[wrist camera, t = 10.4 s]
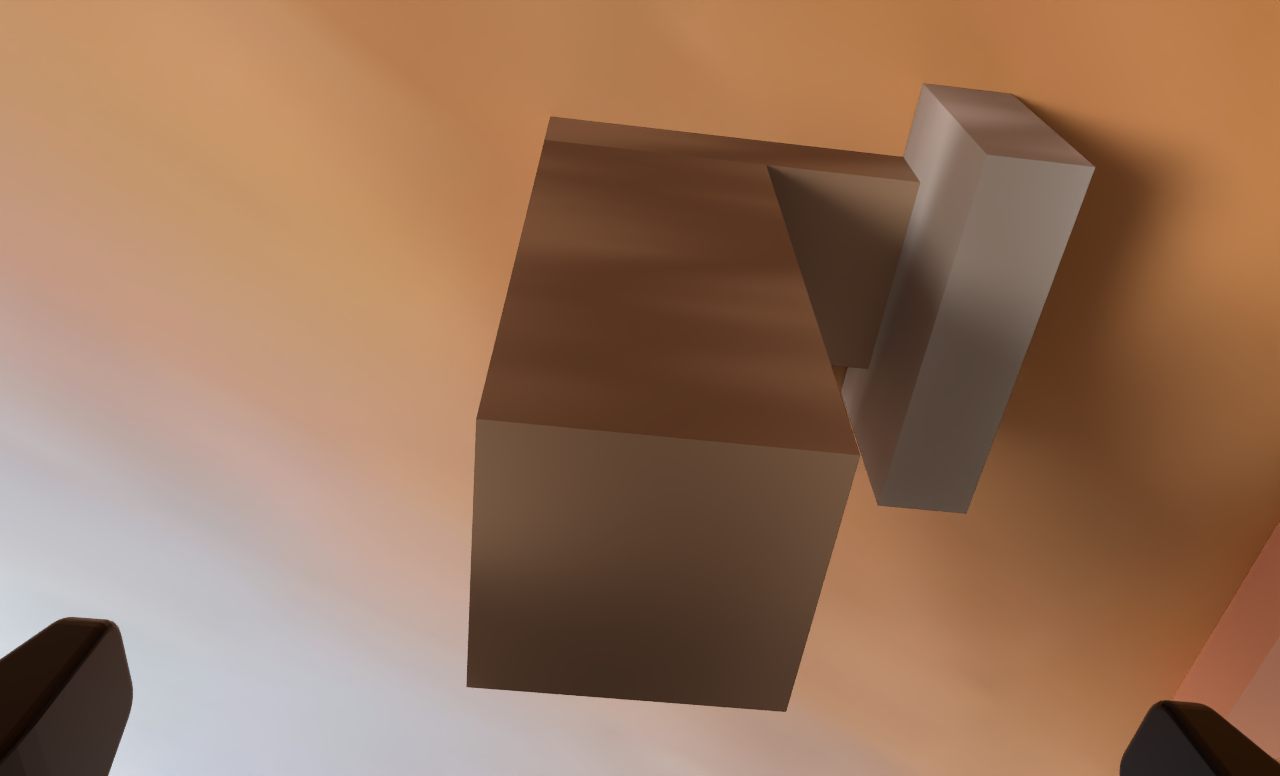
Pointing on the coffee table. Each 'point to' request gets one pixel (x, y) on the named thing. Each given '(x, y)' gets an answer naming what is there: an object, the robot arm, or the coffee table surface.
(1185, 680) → the tile
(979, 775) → the coffee table surface
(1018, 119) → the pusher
